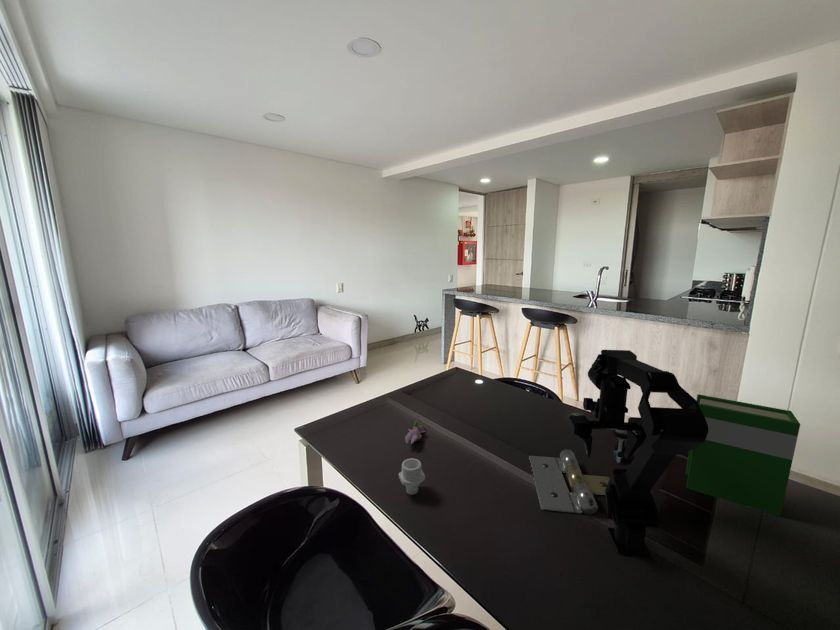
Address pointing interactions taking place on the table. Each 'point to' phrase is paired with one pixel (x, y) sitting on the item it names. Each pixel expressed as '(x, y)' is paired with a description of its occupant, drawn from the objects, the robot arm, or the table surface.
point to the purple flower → (414, 433)
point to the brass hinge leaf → (586, 480)
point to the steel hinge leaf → (560, 485)
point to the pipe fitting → (411, 475)
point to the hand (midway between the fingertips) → (607, 457)
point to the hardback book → (744, 453)
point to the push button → (620, 444)
